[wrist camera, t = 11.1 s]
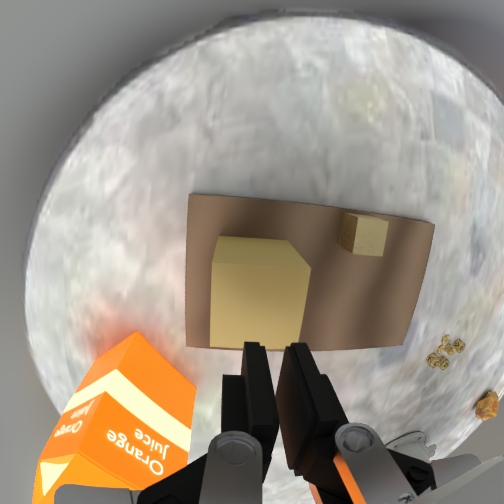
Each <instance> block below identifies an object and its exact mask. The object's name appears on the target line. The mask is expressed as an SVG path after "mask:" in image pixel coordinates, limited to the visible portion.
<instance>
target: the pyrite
mask: <svg viewBox="0 0 504 504" xmlns="http://www.w3.org/2000/svg"><path fill="white" fill-rule="evenodd" d="M498 399H499V398H498V396H497V394H496V392H488V393H487V394H486V396H485V397H484V399H482V400H480V401H478V403H477V408H476V412H475V414H476V417H478V418H480V419H481V420H483V421H484V420H487V419H490V418H492V417H495V416H496V415H497V410H498V404H499V402H498Z"/></svg>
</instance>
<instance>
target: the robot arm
mask: <svg viewBox="0 0 504 504" xmlns="http://www.w3.org/2000/svg"><path fill="white" fill-rule="evenodd" d="M279 424H280V429H281V434H282V439H283V444H284V449H285V454H286V459H287V464H288V468H289V469H290V470H292V469H294V474H295V476H303V479H304V480H306V481H308V482H309V486H310V490H311V492H312V495H313V498H314V500H315V503H316V504H504V455H502V456H498V457H495V458H492V459H489V460H487V461H485V462H483V463H481V461H480V460H479V458H478V457H477V456H475V455H473V454H464V455H459V456H455V457H450V458H444V459H438V460H432V461H430V460H429V459H428V458H430V457H432V456H434V454H435V449H436V445H435V444H433V445H430V446H429V447H426V446H425V444H424V442H425V439H426V438H425V436H424V434H423V433H421V432H415V433H411V434H408V435H405V436H403V437H401V438H399V439H397V440H395V441H393V442H391V443H389V444H388V445H386V446H385V445H384V444H383V442H382V441H381V439H380V437H379V436H378V434H377V433H376V432H375V431H374V430H373V429H372V428H371V427H369V426H368V425H365V424H362V423H349V422H348V419H347V417H346V415H345V413H344V411H343V408H342V406H341V404H340V402H339V400H338V397H337V395H336V393H335V391H334V389H333V386H332V384H331V382H330V380H329V378H328V376H327V375H326V374H320V372H319V370H318V368H317V366H316V363H315V361H314V359H313V356H312V354H311V352H310V349H309V347H308V345H307V343H306V342H292V343H291V344H290V346H286V347H285V351H284V356H283V361H282V366H281V371H280V376H279V381H278V386H277V390H276V395H275V394H274V389H273V384H272V379H271V374H270V369H269V364H268V359H267V354H266V349H265V346H260V343H259V342H248V341H244V347H243V357H242V367H241V375H224V374H223V379H222V406H221V433H220V434H219V435H217V436H215V437H214V438H213V439H212V440H211V442H210V445H209V448H208V453H206V454H205V455H203V456H202V457H200V458H198V459H197V460H195V461H193V462H192V463H190V464H188V465H187V466H185V467H183V468H182V469H180V470H178V471H176V472H175V473H173V474H171V475H169V476H167V477H166V478H164V479H162V480H160V481H158V482H156V483H154V484H152V485H150V486H148V487H146V488H145V489H144V490H130V489H129V488H111V487H96V486H85V485H77V484H64V485H61V486H59V487H58V488H57V489H56V491H55V494H54V504H262V484H263V483H264V480H265V477H266V474H267V471H268V468H269V465H270V462H271V459H272V457H271V454H272V451H273V448H274V444H275V441H276V438H277V434H278V431H279Z"/></svg>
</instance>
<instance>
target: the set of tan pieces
mask: <svg viewBox="0 0 504 504" xmlns="http://www.w3.org/2000/svg"><path fill="white" fill-rule="evenodd" d="M448 340H449V335H448V334H447V335H445V336H443V337H442V345H440V346H439V347H438V348H437V353H438V354H440V353H441V352H442V351H445V352H447V353H448V354H449V355H450V356H452V355H453V354H454V353H455V352H456V351H457V352H458V353H461V352H462V351H463V350H464V348H465V343H463V342H462V341H461V340H460V339H457V340H456V341H455V342H454V344H453V346H452V345H450V344H447V346H446V348H445V349H444V345H443V344H444V343H446V342H448ZM427 363H428V364H429V365H430V366H431V367H432V368H434V367H436V366H437V365H438V366H439V367H440V368H441V369H442V370H444V369H446V368H447V367H448V365H449V361H448V360H447V359H446V358H445V357H444V356H441V357H440V358H438V357H437V356H436V355H435V354H434V353H432V354H430V355H429V356H428V358H427Z"/></svg>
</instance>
